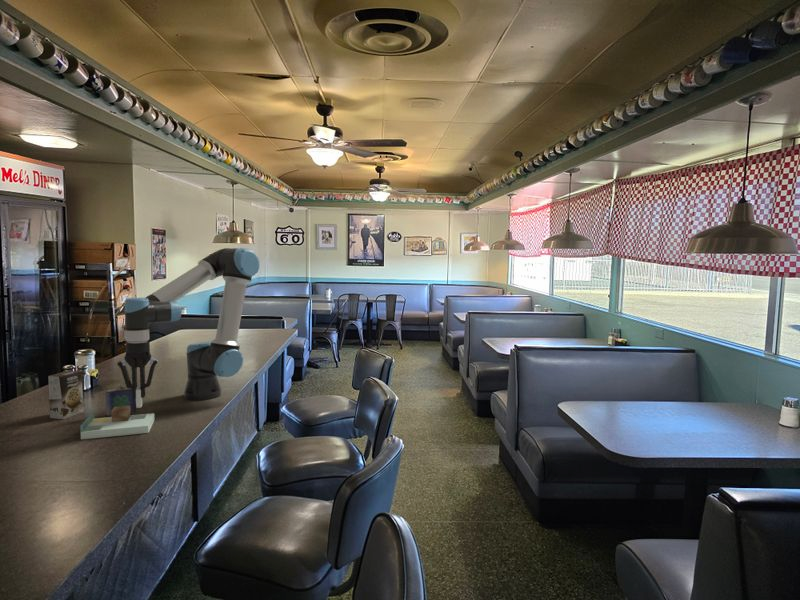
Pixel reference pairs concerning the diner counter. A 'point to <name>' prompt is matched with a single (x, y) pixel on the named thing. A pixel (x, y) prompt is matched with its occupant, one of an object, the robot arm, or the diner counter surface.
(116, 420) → the walnut block
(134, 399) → the flask
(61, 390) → the coffee box
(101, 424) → the board
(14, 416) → the diner counter surface
